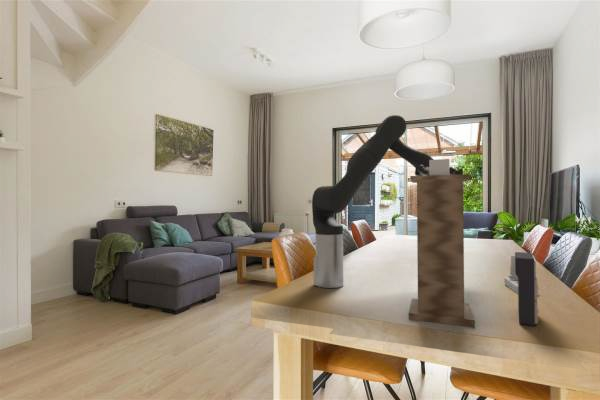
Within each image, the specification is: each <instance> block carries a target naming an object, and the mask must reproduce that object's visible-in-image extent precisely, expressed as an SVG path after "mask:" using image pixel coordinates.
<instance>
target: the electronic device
mask: <svg viewBox="0 0 600 400" xmlns="http://www.w3.org/2000/svg"><path fill="white" fill-rule="evenodd" d="M509 268H510V269H509V272H510V273H509V274H508V275H507V276H504V278H503V280H504V282H503V283H504V285H505V286H506V287H508V288H509V289H511V290H512V291H513V292H514V293H516V294H518V277H517V275H516V273H515V255H511V256H510V267H509Z"/></svg>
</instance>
